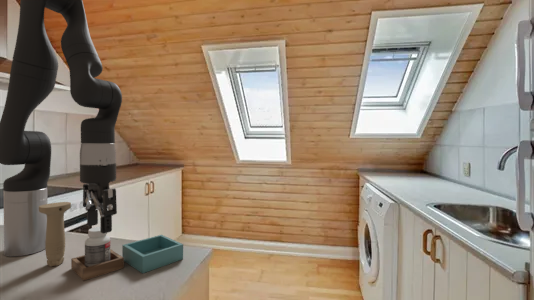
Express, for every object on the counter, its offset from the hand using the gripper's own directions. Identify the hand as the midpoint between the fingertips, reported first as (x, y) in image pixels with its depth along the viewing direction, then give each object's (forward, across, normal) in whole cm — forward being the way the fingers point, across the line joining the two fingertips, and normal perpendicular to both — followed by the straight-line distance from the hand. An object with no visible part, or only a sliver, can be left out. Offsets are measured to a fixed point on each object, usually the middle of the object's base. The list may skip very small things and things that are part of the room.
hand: (99, 228), depth 68 cm
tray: (+10, +5, +11) cm, 16 cm away
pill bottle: (+10, 0, 0) cm, 10 cm away
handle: (+10, -10, -6) cm, 16 cm away
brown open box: (+10, 0, 0) cm, 10 cm away
